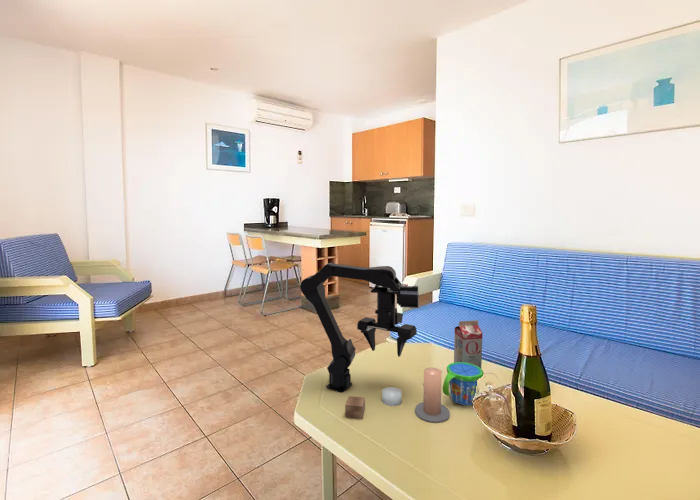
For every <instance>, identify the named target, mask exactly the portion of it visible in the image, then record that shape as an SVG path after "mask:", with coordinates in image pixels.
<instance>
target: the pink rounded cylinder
mask: <svg viewBox="0 0 700 500" xmlns="http://www.w3.org/2000/svg"><path fill="white" fill-rule="evenodd" d="M442 375H443V374H442V371H441V369H439V368H436V367H427V368H424V370H423V396H422V397H423V400H422V402H423V411H424V412H425V413H426V414H428V415H439V414H440V413H441V404H442Z"/></svg>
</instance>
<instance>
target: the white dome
mask: <svg viewBox="0 0 700 500" xmlns="http://www.w3.org/2000/svg"><path fill="white" fill-rule="evenodd" d="M381 394H382V395H381V397H382V399H381V401H382V403H383V404H385V405H387V406H390V407H394V406H395V407H396V406H399V405H401V404H402V402H403V401H402V394H403V393H402V390H401V389H400V388H397V387H394V386H393V387H391V386H388V387H385V388H383V389H382V390H381Z"/></svg>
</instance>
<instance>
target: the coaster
mask: <svg viewBox="0 0 700 500" xmlns="http://www.w3.org/2000/svg"><path fill="white" fill-rule="evenodd" d="M414 414H415V415H416V417H417V418H418V419H420V420H422V421H424V422H427V423H433V424H439V423H444V422H446V421H448V420H449V419H450V416H451V411H450V410H449V408H448V407H447V406H445V405H444V404H442V403H441V413H440V414H439V415H428V414H426V413H425V412H424V411H423V401H422V402H419V403H418V404H416V405H415V407H414Z"/></svg>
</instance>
